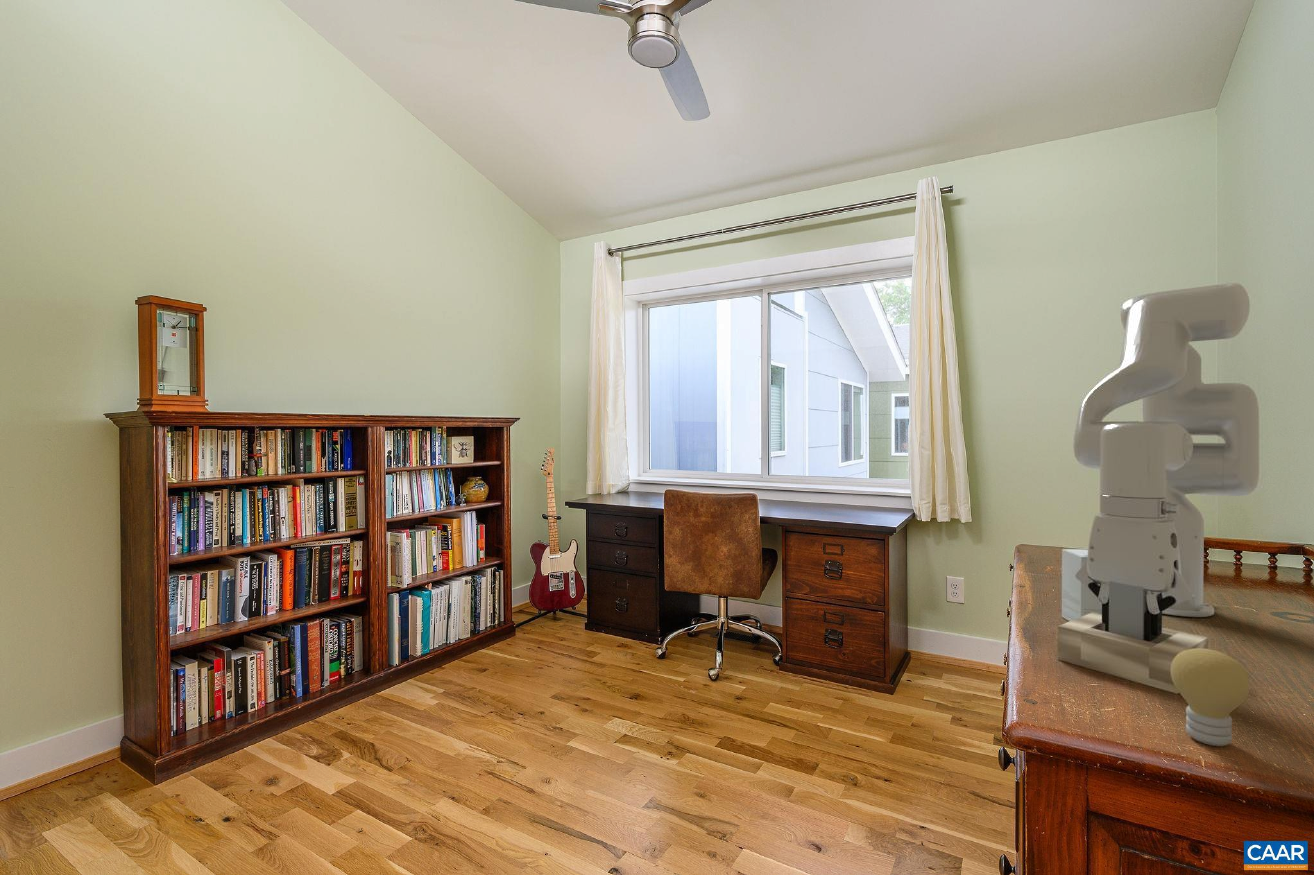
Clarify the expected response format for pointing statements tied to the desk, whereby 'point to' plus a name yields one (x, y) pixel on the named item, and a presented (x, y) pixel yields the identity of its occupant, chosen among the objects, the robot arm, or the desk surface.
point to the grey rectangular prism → (1127, 610)
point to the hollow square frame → (1124, 651)
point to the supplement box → (1076, 587)
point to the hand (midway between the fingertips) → (1130, 633)
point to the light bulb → (1209, 692)
